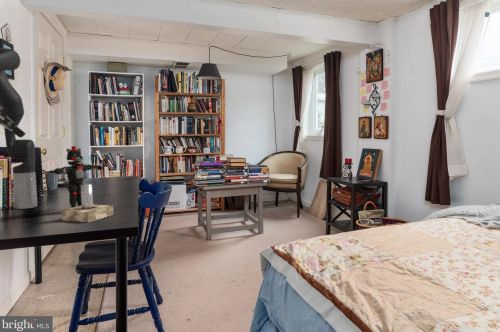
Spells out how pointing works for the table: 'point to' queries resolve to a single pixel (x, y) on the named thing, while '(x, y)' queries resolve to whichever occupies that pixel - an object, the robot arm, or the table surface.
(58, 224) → the table surface
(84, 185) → the pin
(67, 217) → the socket
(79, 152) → the toy
